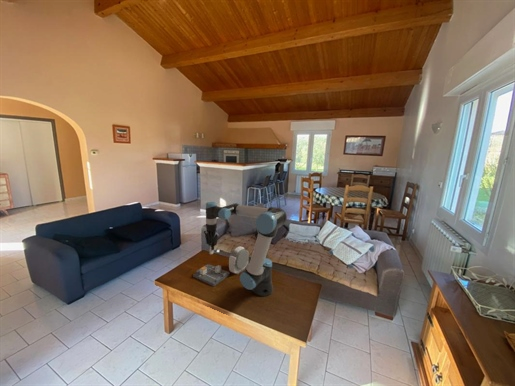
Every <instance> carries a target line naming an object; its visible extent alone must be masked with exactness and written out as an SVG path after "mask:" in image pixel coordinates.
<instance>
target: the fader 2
mask: <svg viewBox="0 0 515 386" xmlns="http://www.w3.org/2000/svg"><path fill="white" fill-rule="evenodd" d="M221 269H222V265H220V264H218V265H216V266H215V273H219V272H221Z"/></svg>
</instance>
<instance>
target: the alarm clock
mask: <svg viewBox="0 0 515 386" xmlns="http://www.w3.org/2000/svg"><path fill="white" fill-rule="evenodd" d="M249 258H250V253H249V250H247V249H245V247H243V246H237V247H236V246H235V248H233V249H232V251H230V254H229V256H228V269H229V271H230V272H231V273H233V274H236V275H239V274H241V273H243V272H244V271H245V268H246V265H247V264H248V263H249Z"/></svg>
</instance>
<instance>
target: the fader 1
mask: <svg viewBox="0 0 515 386" xmlns="http://www.w3.org/2000/svg"><path fill="white" fill-rule="evenodd" d="M205 266H206V265H204V266H202V267H201V268H199V269H200V274H202V275H204V274H206V273H207V267H205Z"/></svg>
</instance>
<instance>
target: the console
mask: <svg viewBox="0 0 515 386" xmlns="http://www.w3.org/2000/svg"><path fill="white" fill-rule="evenodd" d="M204 266H205V267H207V273H206V274H204V275H202V274H200V268H199V269H198V270H196V272H195V273H193V275H192V276H193V278H194V279H197V280H199V281H201V282H203V283H205V284H208V285H210V286H212V287H215V286H217V285H218V284H220V283H221V282H222V281H224V280H225V279H226V278H227V277H228V276H230V275H231V274H230V272H231V271H230V272H229V271H227V270H224V269H222V268H221V272H219V273H215V267H216V266H215V265H212V264H205V265H204Z"/></svg>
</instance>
